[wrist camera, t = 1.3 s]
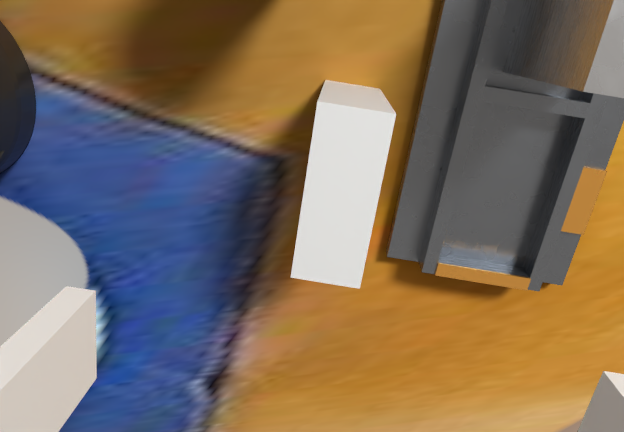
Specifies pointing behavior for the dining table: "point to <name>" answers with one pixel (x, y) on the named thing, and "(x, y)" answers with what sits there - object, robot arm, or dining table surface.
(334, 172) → the block
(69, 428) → the dining table surface
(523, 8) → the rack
